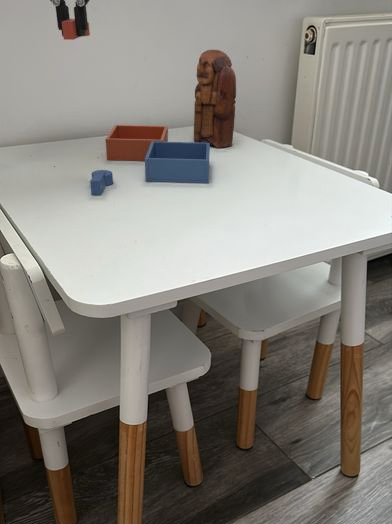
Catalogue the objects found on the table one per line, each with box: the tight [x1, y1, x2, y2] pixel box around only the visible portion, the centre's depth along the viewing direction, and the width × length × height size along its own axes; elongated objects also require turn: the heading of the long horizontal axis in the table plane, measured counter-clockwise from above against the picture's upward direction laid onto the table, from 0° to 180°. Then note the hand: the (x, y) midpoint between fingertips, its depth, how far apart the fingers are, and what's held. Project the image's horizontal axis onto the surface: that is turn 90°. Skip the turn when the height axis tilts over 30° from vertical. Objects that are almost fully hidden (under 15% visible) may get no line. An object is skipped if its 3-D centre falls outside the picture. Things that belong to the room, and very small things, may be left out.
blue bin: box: [144, 141, 211, 184], centre depth 103 cm, size 11×12×4 cm
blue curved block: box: [89, 169, 114, 196], centre depth 95 cm, size 8×4×2 cm, turn 178°
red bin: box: [105, 124, 169, 162], centre depth 114 cm, size 11×12×4 cm
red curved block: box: [62, 18, 91, 41], centre depth 87 cm, size 8×4×2 cm, turn 177°
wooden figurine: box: [193, 49, 237, 149], centre depth 118 cm, size 12×6×18 cm, turn 38°
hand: (73, 34), depth 87 cm, fingers closed on red curved block, 1 cm apart
